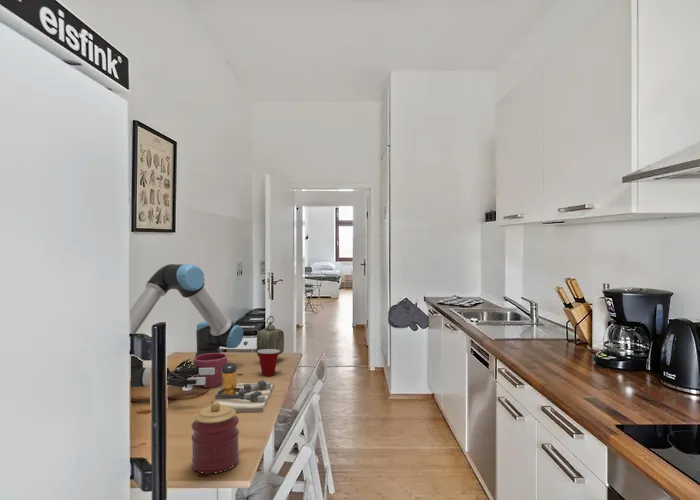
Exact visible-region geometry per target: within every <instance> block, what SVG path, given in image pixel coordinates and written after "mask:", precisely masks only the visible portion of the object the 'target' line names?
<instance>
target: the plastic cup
mask: <svg viewBox="0 0 700 500" xmlns="http://www.w3.org/2000/svg"><path fill="white" fill-rule="evenodd" d="M257 352H258V354H259V357H258V358H259V364H260V369H261V374H262V376H263V377H272V376H274V375H275V373H276V367H277V363H278V357H279V355H278V354H279V352H280V351H279V350H276V349H262V350H258V351H257V350H256V353H257Z"/></svg>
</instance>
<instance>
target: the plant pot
mask: <svg viewBox="0 0 700 500" xmlns="http://www.w3.org/2000/svg"><path fill="white" fill-rule="evenodd" d="M193 361H194V366H193V367H198V366H200V368H215V374H214V375H199V374H197V378H201V377H205V385H202V386H207V387H209V389H210V388H215V387H218V386H222V366H223V365H226V364H228V355H227V354H226V353H223V352H221V353H208V354H202V355H199V356H196V357H195V356H194V358H193Z"/></svg>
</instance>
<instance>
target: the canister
mask: <svg viewBox="0 0 700 500" xmlns="http://www.w3.org/2000/svg"><path fill="white" fill-rule="evenodd" d="M236 414H237V413H236V411H235V410H234V409H232V408H230V407H229V406H226V405H220V404H219V402H215V401H213V402H212V403H211V405H209V406H206V407H204V408H202V409H201V410H200V411H198V412H197V413H196V414H195V415H194V419H195V420H193V422H192V423H191V429H192V431H193V434H192V435H191V441H192V443H191V445H192V448H191V449H192V450H191V452H192V454H191V455H192V456H191V465H192V468H194V469H195V470H196V471H198V472H203V473H215V472H220V471H224V470H226V469H229V468H230V467H232V466H233V465H235V464H236V463H237V464H238V462H239V458H240V450H239V434H240V430H239V428H238V424H239V422H240V419H239V417H238V416H237V415H236ZM237 461H238V462H237ZM237 464H236V465H237ZM236 465H235V466H236ZM194 469H193V470H194ZM195 470H194V471H195ZM229 470H230V469H229ZM196 471H195V472H196ZM198 472H197V473H198ZM224 472H225V471H224Z"/></svg>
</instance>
